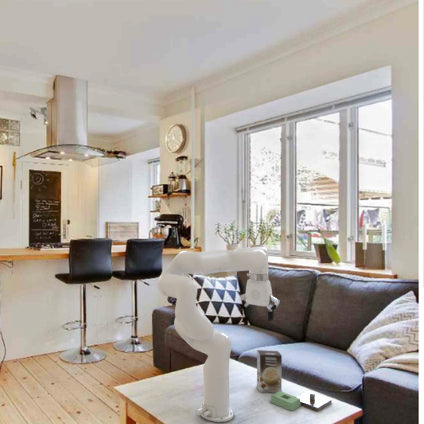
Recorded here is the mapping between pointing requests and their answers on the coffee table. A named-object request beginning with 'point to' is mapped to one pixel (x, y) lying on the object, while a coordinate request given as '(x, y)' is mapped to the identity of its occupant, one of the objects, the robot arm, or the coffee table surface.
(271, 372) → the coffee box
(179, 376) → the coffee table surface
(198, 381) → the coffee table surface
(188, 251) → the robot arm
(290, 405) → the green block with hole
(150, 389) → the coffee table surface
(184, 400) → the coffee table surface
